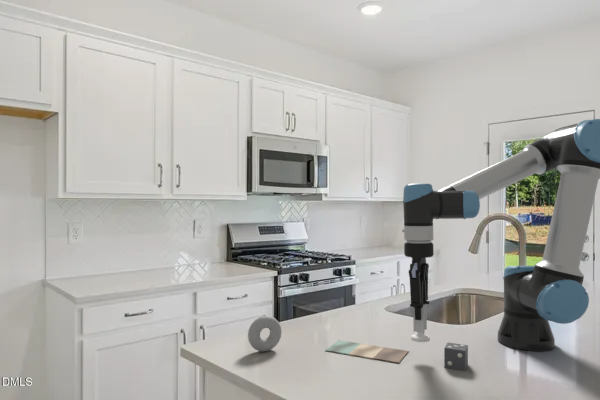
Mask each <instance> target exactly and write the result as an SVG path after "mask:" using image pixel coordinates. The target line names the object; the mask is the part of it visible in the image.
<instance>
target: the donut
mask: <svg viewBox="0 0 600 400" xmlns="http://www.w3.org/2000/svg"><path fill="white" fill-rule="evenodd" d="M264 329H268V330H269V335H268V336H267V337H266V338H262V337H261V332H262V331H263V330H264ZM281 337H282V326H281V324H280V322H279V321H278V319H276V318H275V317H273V316H271V315H262V316H260V317H257V318H256V319H254V320H253V322H252V323H251V325H250V327H249V328H248V333H247V338H248V342H249V345H250V346H251V347H252V348H253V349H254V350H255V351H258V352H260V353H261V352H264V353H265V352H268V351H271V350H272V349H274V348H275V347H276V346H277V345H278V344H279V342H280V340H281Z"/></svg>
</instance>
